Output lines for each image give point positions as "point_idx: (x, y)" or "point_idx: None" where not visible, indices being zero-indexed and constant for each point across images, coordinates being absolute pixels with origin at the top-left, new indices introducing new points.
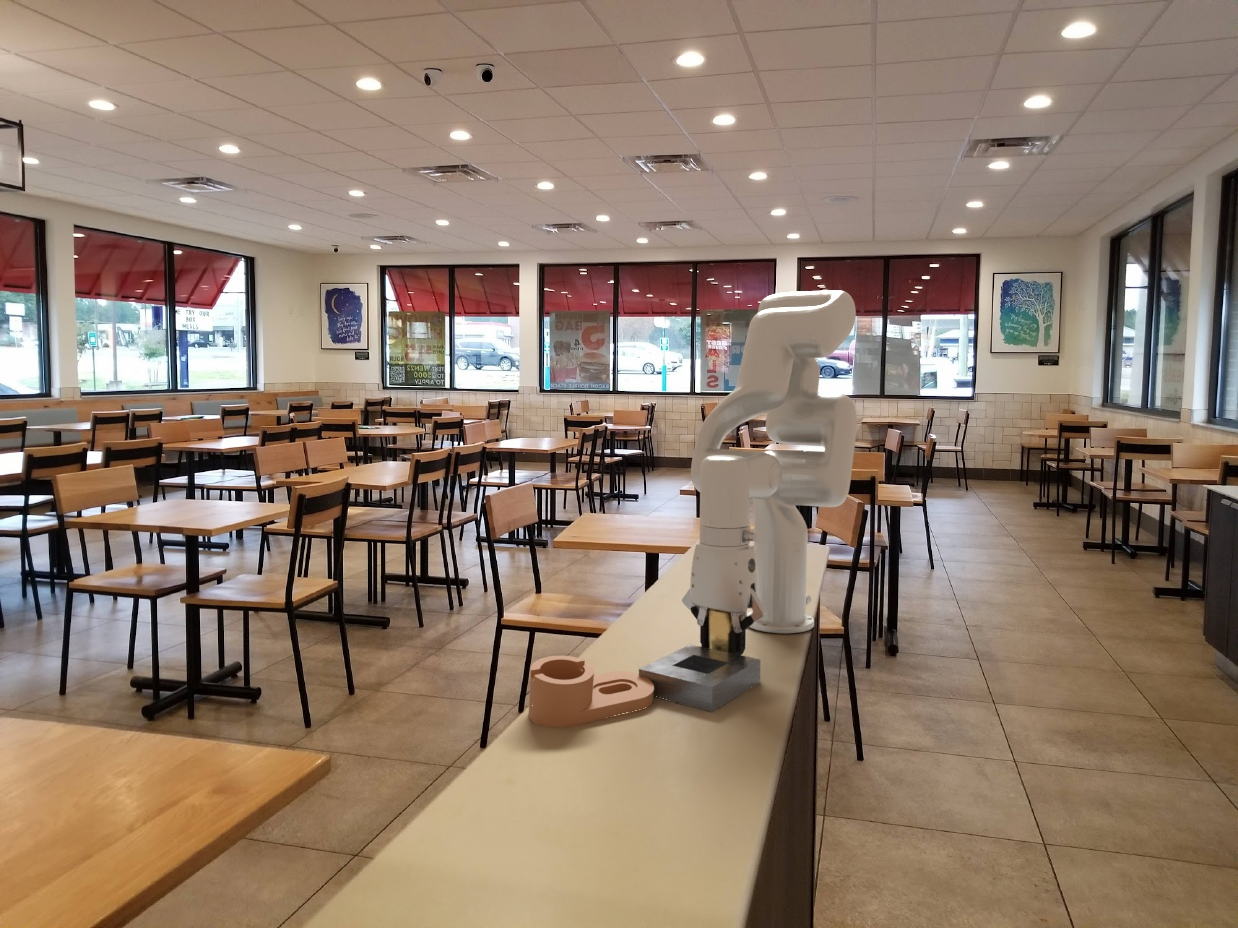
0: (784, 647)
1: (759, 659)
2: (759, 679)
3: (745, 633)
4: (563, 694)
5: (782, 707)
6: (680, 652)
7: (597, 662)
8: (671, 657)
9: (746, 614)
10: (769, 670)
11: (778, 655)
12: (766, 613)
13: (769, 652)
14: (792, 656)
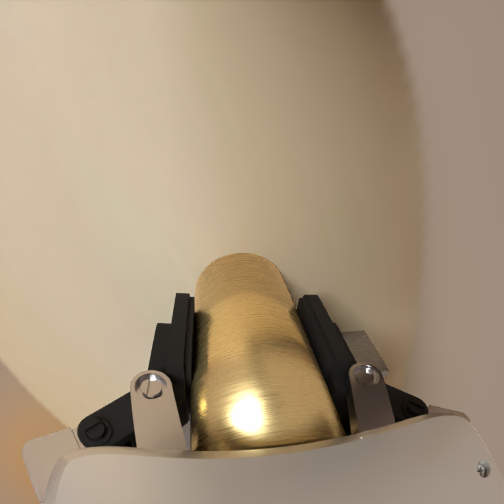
0: (351, 8)
1: (386, 371)
2: (366, 337)
3: (356, 362)
4: None
5: (402, 380)
6: (182, 428)
7: (30, 380)
8: (188, 446)
9: (390, 419)
10: (374, 248)
11: (366, 96)
12: (467, 417)
13: (329, 75)
14: (403, 90)
